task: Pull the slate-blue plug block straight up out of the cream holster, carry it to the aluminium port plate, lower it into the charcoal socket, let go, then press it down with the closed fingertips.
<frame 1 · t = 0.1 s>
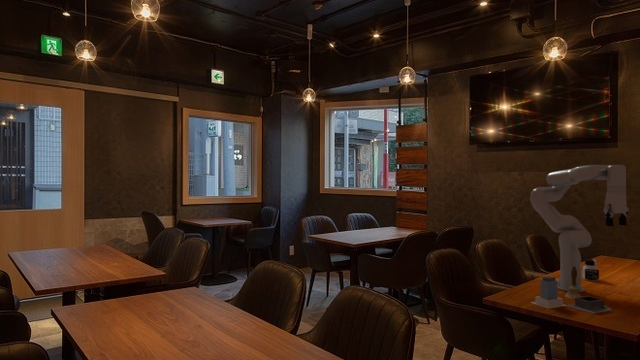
hand: (616, 225, 207), 37 cm above the table, tool pointing down, fingers open, 9 cm apart
hand bell: (573, 299, 212), on the table
plug: (548, 304, 200), point 1 cm above the table, touching holster
holster: (548, 305, 200), on the table
port: (589, 309, 193), on the table
medicine bottle: (590, 280, 253), on the table
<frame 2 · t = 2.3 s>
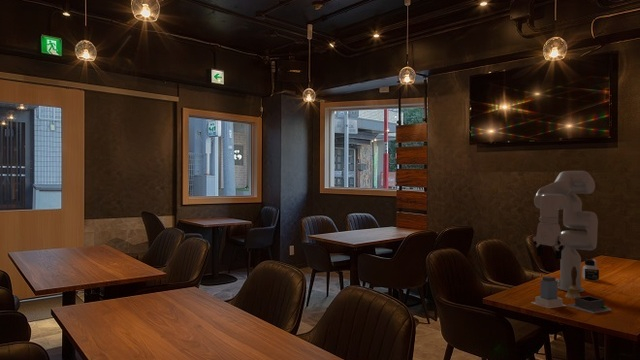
hand: (548, 257, 199), 23 cm above the table, tool pointing down, fingers open, 9 cm apart
nothing on the table moved.
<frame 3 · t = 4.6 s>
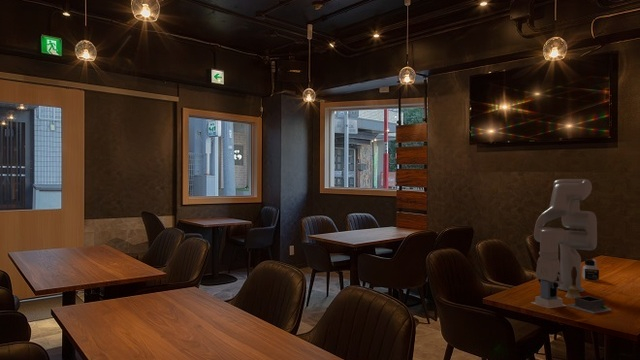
hand: (548, 294, 200), 5 cm above the table, tool pointing down, fingers closed on plug, 4 cm apart
plug: (548, 304, 200), point 1 cm above the table, touching gripper, holster
everything else where it was.
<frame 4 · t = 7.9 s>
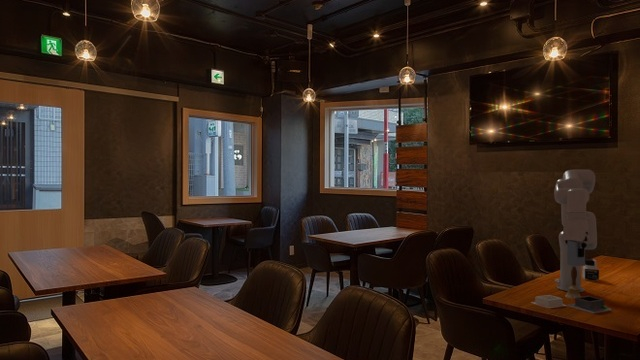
hand: (576, 255, 195), 24 cm above the table, tool pointing down, fingers closed on plug, 4 cm apart
plug: (576, 265, 195), point 20 cm above the table, touching gripper
everything else where it was.
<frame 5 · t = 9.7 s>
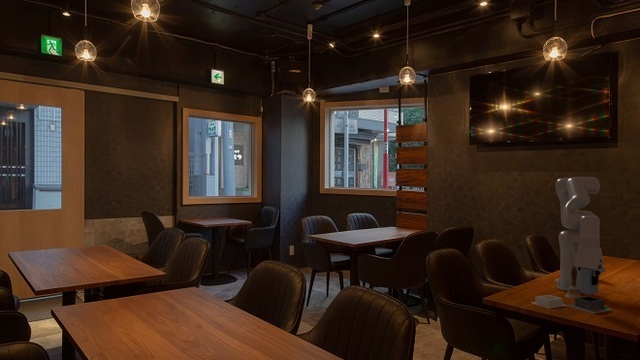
hand: (589, 283, 193), 12 cm above the table, tool pointing down, fingers closed on plug, 4 cm apart
plug: (589, 292, 193), point 8 cm above the table, touching gripper
everything else where it was.
when the fingers open (7 cm above the table, at t = 11.2 s): plug stays where it is, resting on port.
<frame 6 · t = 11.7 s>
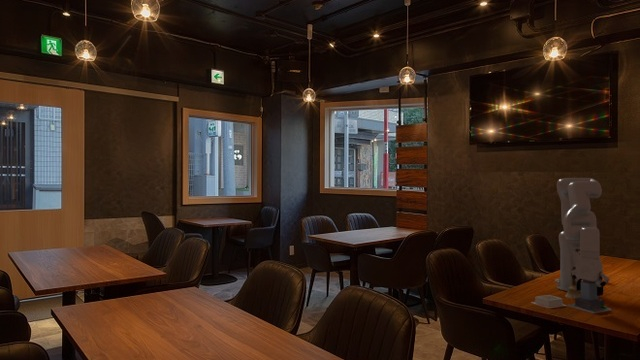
hand: (589, 292, 193), 8 cm above the table, tool pointing down, fingers open, 9 cm apart
plug: (589, 306, 193), point 1 cm above the table, touching port
everything else where it was.
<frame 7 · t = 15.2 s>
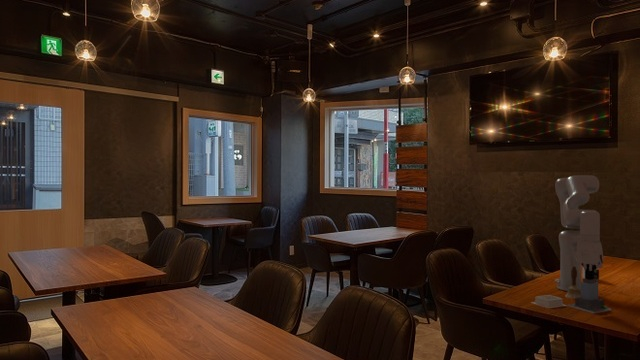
hand: (589, 278, 193), 14 cm above the table, tool pointing down, fingers closed
plug: (589, 306, 193), point 2 cm above the table, touching gripper, port
everything else where it was.
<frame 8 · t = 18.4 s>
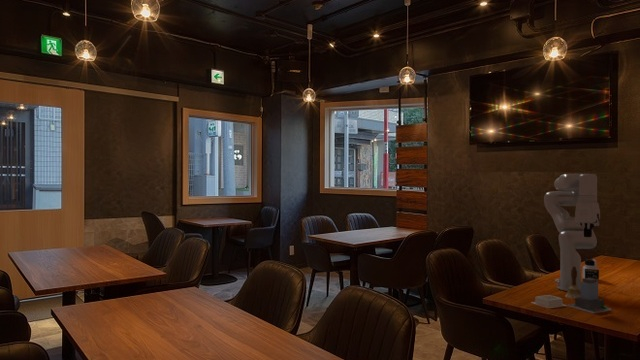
hand: (587, 236, 208), 31 cm above the table, tool pointing down, fingers closed
plug: (589, 306, 193), point 1 cm above the table, touching port
everything else where it was.
at the end: plug 0.0 cm off-centre on the port, point 1.5 cm above the port's base; plug tilted 0°; the gripper is holding nothing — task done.
